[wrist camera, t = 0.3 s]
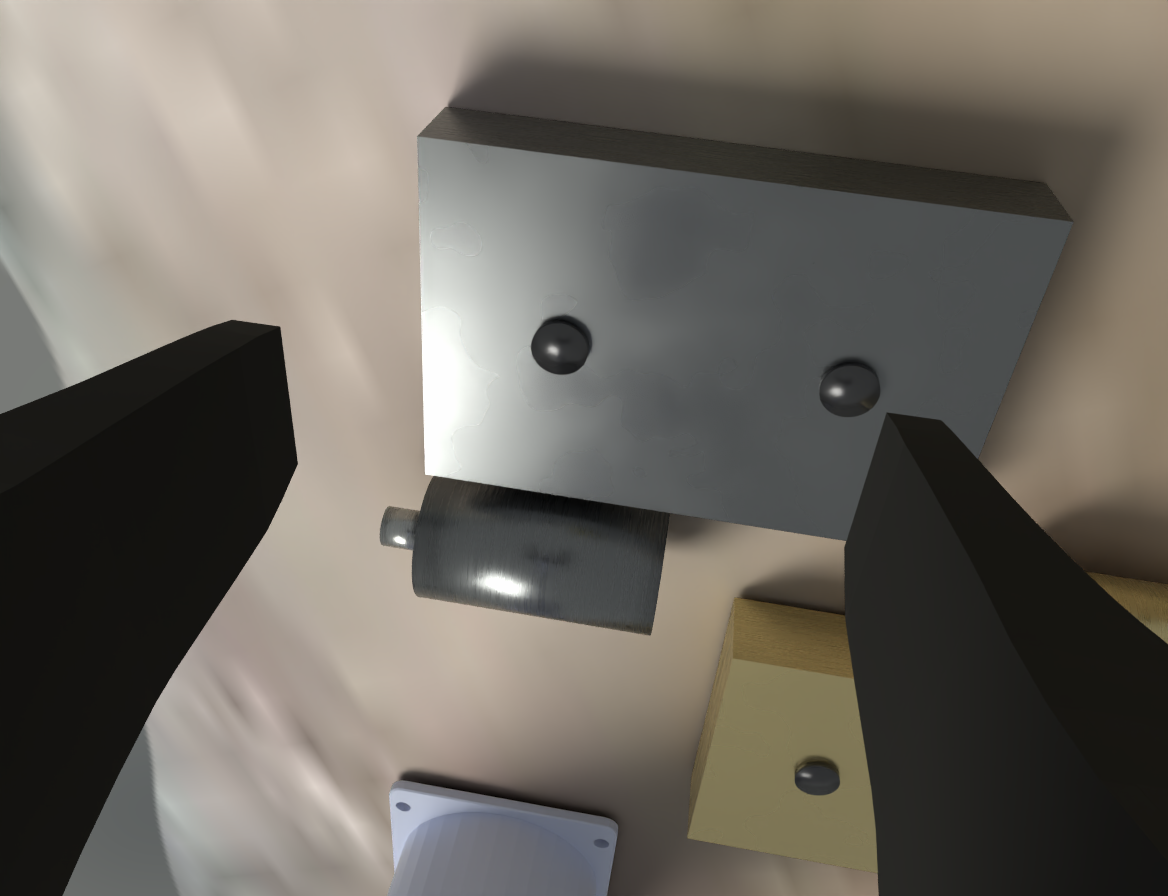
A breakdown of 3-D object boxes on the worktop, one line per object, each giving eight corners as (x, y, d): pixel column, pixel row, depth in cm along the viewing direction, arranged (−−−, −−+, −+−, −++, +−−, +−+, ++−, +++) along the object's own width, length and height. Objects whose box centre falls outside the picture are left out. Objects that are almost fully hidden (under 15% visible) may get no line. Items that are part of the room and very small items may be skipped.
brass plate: (1310, 579, 22) (1381, 682, 20) (1112, 851, 29) (1146, 954, 27) (759, 493, 23) (759, 581, 21) (691, 776, 30) (685, 869, 28)
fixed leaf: (1045, 183, 18) (1096, 253, 16) (887, 605, 25) (902, 706, 22) (393, 100, 19) (333, 152, 17) (409, 528, 26) (368, 615, 23)
